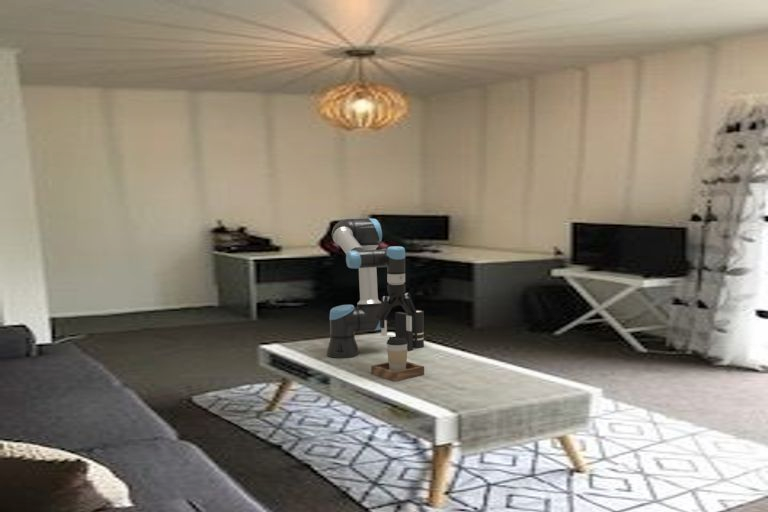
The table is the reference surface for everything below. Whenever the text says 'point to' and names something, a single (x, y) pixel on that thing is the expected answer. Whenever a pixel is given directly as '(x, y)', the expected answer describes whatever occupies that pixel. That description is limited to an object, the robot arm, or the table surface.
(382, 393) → the table surface
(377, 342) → the table surface
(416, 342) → the light fixture
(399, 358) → the coffee cup
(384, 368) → the tray
